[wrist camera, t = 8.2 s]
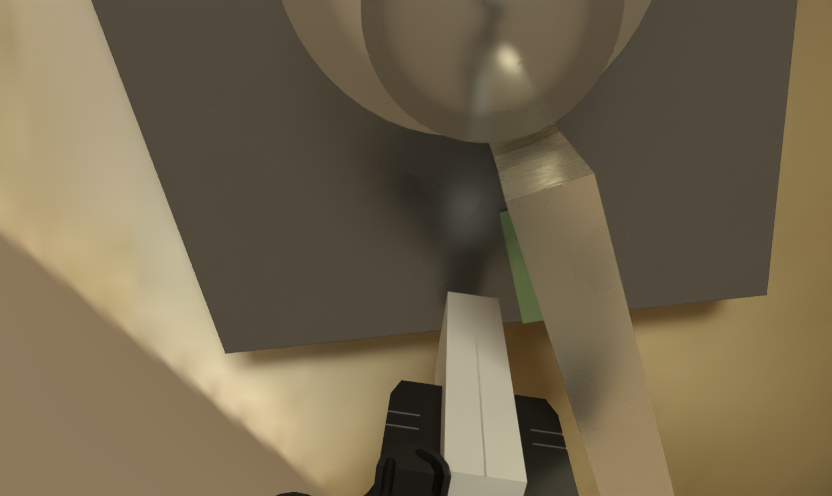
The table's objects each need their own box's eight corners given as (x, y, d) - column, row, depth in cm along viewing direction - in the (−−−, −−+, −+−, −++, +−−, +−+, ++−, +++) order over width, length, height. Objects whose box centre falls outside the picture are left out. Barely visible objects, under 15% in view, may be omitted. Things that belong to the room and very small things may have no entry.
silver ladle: (241, -168, 12) (62, -312, 7) (591, -352, 11) (739, -742, 5) (472, 397, 18) (478, 566, 13) (715, 337, 17) (842, 500, 11)
